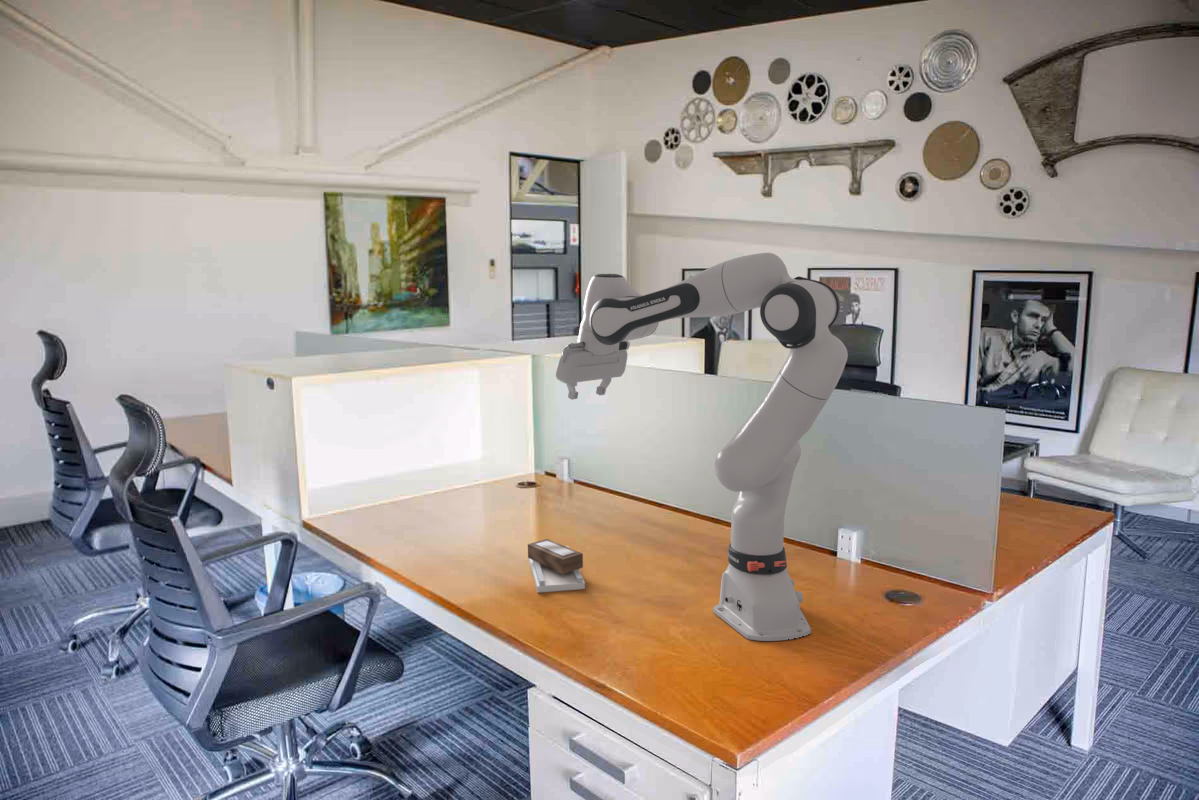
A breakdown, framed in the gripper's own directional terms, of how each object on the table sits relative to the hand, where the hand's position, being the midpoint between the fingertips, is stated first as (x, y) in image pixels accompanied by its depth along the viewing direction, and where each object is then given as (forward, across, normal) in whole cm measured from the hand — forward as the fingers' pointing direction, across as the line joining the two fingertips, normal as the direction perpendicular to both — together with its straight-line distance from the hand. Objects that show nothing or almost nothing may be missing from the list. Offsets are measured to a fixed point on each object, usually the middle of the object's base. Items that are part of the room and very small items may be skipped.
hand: (586, 396), depth 196 cm
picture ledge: (+42, -8, -7) cm, 44 cm away
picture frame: (+40, -8, -7) cm, 41 cm away
